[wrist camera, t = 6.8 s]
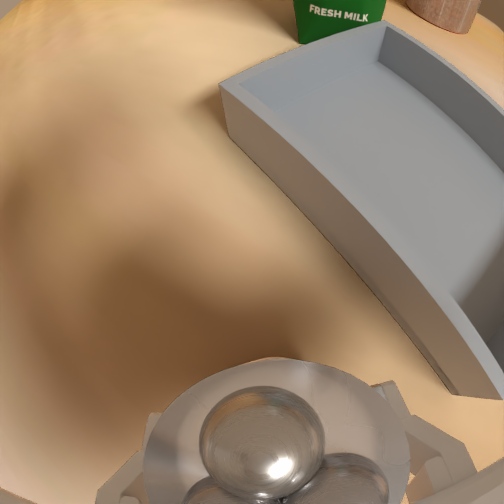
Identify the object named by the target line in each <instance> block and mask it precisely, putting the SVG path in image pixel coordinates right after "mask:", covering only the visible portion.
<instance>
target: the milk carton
mask: <svg viewBox="0 0 504 504" xmlns="http://www.w3.org/2000/svg"><path fill="white" fill-rule="evenodd" d="M293 3H294V9H295V16H296V22H297V29H298V37H299V43H300V44H309V43H312V42H314V41H317V40H320V39H323V38H326V37H328V36H331V35H334V34H337V33H341V32H344V31H347V30H350V29H353V28H357V27H360V26H364V25H367V24H371V23H375V22H379V21H381V19H382V15H383V12H384V8H385V4H386V0H293Z"/></svg>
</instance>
